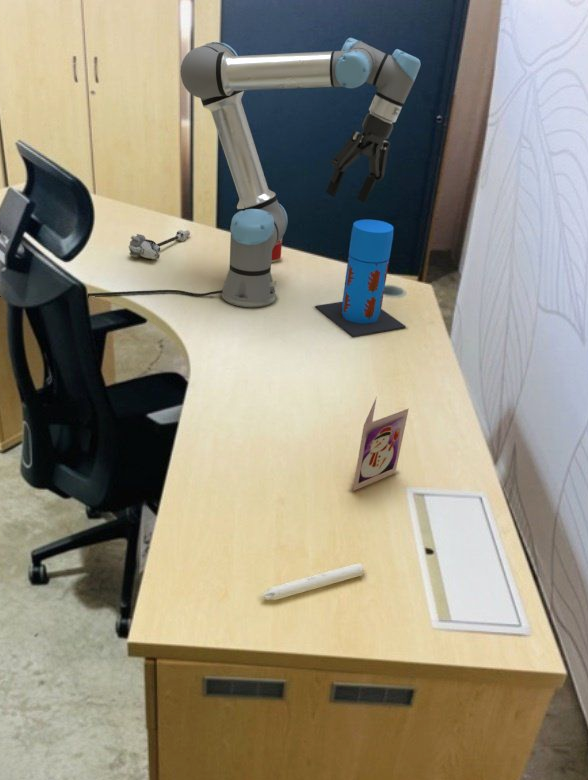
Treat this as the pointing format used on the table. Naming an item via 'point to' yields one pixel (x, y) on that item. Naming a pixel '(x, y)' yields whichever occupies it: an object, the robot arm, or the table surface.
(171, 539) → the table surface
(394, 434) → the greeting card
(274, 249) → the beverage can
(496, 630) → the table surface
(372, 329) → the desk mat
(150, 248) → the hammer
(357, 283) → the thermos
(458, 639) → the table surface
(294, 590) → the marker
